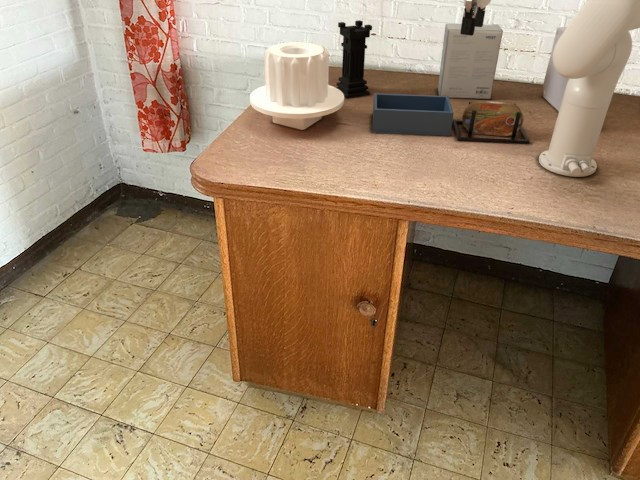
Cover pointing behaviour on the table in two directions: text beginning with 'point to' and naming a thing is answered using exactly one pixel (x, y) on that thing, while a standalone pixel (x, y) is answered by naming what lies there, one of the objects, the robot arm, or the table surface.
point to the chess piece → (353, 59)
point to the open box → (412, 114)
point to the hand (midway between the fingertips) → (471, 30)
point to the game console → (554, 78)
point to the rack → (470, 138)
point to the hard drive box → (469, 61)
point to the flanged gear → (296, 85)
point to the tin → (492, 118)
